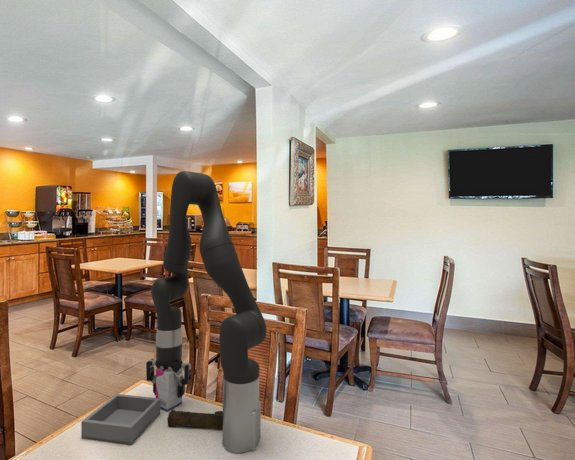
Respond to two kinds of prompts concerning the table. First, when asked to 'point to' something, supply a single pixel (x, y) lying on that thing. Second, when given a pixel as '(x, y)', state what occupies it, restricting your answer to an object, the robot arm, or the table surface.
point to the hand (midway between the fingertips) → (168, 395)
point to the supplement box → (167, 389)
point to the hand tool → (196, 419)
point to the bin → (121, 419)
